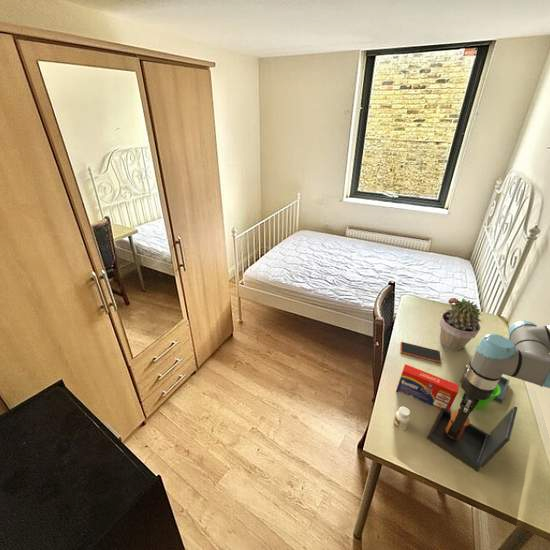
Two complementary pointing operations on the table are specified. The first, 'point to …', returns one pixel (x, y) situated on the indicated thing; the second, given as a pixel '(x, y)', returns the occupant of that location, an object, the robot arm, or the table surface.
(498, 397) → the tray
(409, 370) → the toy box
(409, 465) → the table surface
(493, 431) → the lid
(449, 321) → the potted plant
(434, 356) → the smartphone
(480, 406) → the cup
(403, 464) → the table surface
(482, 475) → the table surface
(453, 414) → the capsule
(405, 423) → the pill bottle
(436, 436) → the dark grey box base
